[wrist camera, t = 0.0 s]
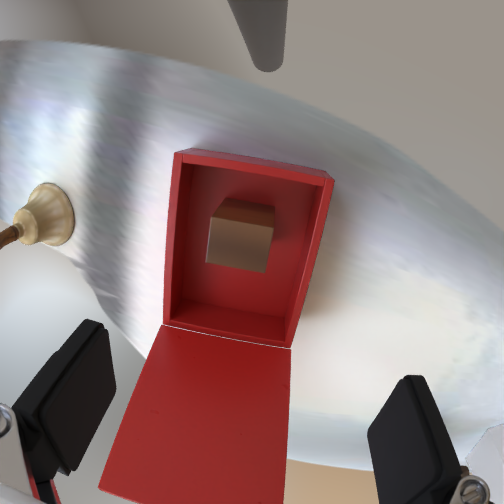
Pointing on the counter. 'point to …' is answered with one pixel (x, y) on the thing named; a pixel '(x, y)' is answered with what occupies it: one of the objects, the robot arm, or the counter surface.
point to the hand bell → (42, 218)
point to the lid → (204, 424)
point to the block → (241, 235)
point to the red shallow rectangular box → (233, 279)
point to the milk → (490, 462)
